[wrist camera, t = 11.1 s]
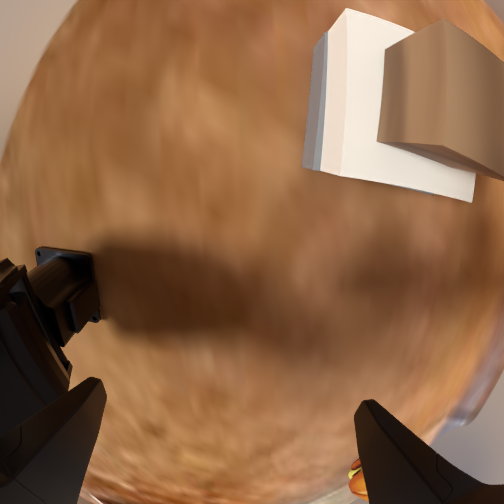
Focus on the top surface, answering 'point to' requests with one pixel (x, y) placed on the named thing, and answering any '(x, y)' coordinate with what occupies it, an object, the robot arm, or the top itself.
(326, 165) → the tower top slab
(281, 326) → the top surface
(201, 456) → the top surface
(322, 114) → the tower base slab
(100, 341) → the top surface
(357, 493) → the cheeseburger
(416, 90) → the walnut block
